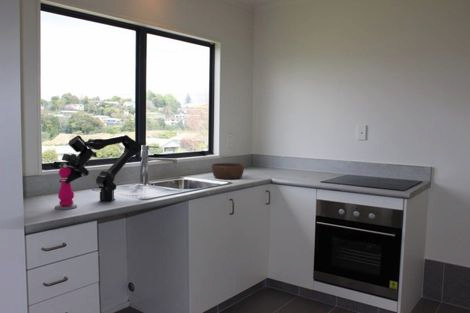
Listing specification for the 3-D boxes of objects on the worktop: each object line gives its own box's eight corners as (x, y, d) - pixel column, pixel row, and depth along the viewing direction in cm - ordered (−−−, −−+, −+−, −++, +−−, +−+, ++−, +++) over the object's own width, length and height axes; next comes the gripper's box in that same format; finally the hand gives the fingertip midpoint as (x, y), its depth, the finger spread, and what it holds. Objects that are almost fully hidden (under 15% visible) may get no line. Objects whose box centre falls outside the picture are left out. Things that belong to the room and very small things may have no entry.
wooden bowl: (206, 176, 322) (206, 163, 321) (235, 175, 332) (235, 162, 331) (219, 181, 299) (219, 167, 298) (249, 179, 309) (249, 165, 309)
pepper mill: (67, 202, 207) (65, 163, 205) (77, 203, 204) (76, 163, 202) (55, 205, 200) (53, 164, 199) (65, 206, 197) (64, 165, 195)
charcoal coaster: (80, 205, 207) (80, 204, 207) (71, 210, 197) (71, 208, 197) (61, 205, 207) (61, 203, 207) (50, 209, 197) (50, 207, 197)
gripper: (62, 146, 208) (41, 170, 201) (82, 148, 197) (61, 174, 189) (77, 161, 215) (57, 184, 208) (97, 163, 204) (77, 188, 196)
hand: (63, 182), depth 200 cm, fingers closed on pepper mill, 5 cm apart
